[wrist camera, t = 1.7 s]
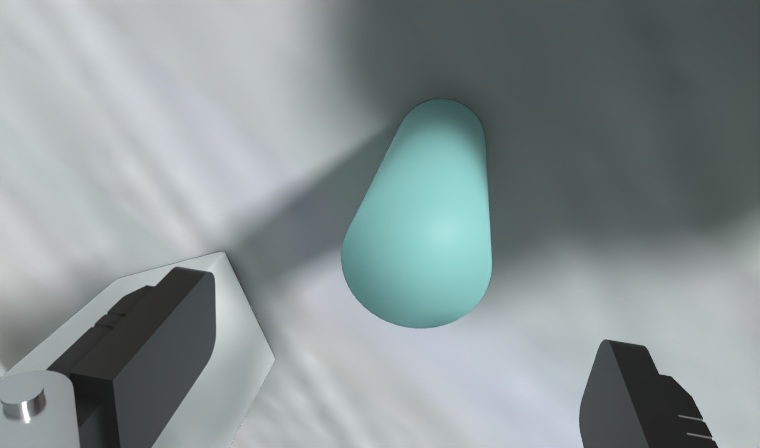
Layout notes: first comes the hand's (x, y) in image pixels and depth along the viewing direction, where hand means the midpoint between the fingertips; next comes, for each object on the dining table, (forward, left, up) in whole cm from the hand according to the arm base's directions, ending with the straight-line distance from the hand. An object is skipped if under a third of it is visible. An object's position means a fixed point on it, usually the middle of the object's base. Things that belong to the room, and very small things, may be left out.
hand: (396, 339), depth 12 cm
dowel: (0, 0, -16) cm, 16 cm away
